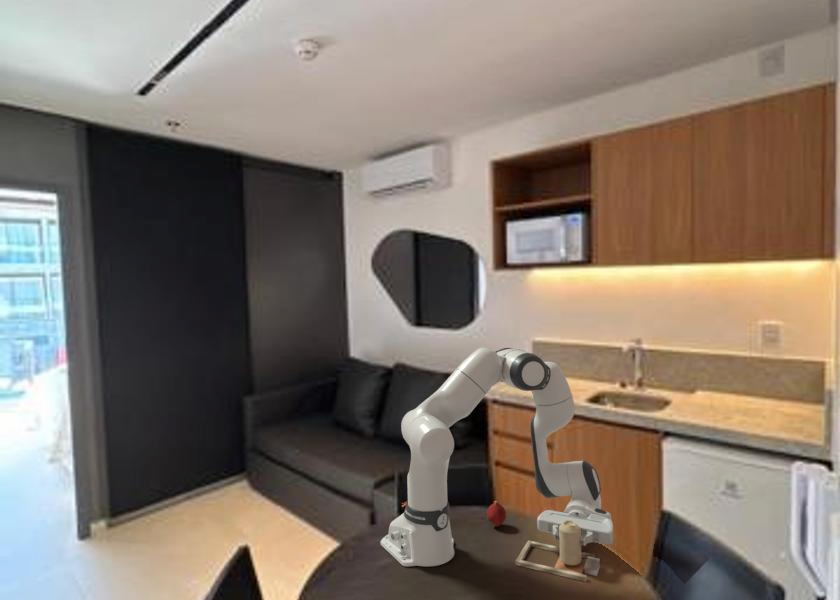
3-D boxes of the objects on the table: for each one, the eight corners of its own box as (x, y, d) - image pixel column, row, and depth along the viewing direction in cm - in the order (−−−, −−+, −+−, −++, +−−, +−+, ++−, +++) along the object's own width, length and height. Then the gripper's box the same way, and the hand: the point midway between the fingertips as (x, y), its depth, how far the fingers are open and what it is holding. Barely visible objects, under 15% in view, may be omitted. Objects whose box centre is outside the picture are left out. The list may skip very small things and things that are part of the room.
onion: (496, 520, 161) (495, 495, 161) (510, 526, 157) (509, 500, 157) (483, 526, 158) (482, 500, 157) (497, 532, 153) (496, 506, 153)
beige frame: (515, 564, 135) (515, 557, 135) (528, 543, 146) (528, 536, 146) (594, 583, 126) (594, 575, 126) (602, 559, 137) (601, 552, 136)
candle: (582, 566, 131) (581, 528, 131) (560, 564, 132) (559, 526, 132) (580, 555, 137) (579, 518, 136) (559, 553, 138) (558, 517, 137)
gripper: (543, 500, 150) (530, 520, 138) (616, 513, 141) (609, 535, 129) (543, 521, 151) (530, 543, 138) (616, 536, 141) (610, 560, 129)
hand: (569, 539), depth 133 cm, fingers closed on candle, 5 cm apart
